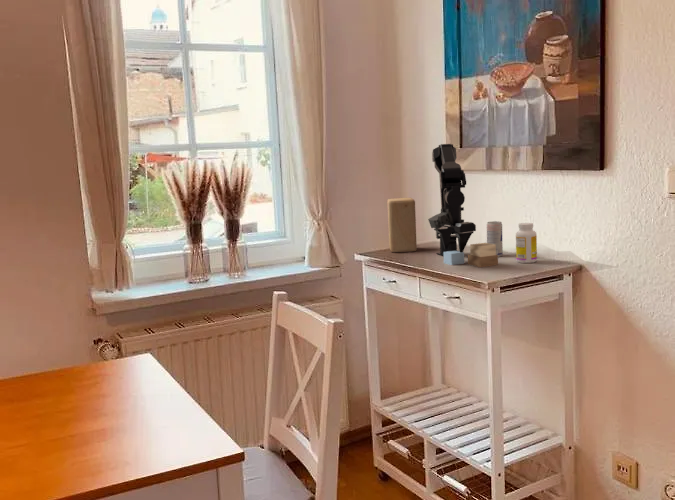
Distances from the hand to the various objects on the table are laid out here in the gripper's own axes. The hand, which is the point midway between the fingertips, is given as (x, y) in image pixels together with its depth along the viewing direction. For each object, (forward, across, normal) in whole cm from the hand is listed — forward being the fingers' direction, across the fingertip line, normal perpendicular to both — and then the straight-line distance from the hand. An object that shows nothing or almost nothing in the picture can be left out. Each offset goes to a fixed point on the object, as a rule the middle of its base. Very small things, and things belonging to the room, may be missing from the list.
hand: (453, 250), depth 232 cm
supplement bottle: (+4, +13, +20) cm, 24 cm away
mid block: (+1, +8, +6) cm, 10 cm away
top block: (+4, 0, 0) cm, 5 cm away
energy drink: (+5, -3, +19) cm, 20 cm away
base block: (+5, +8, +6) cm, 11 cm away
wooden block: (+5, -36, 0) cm, 36 cm away
